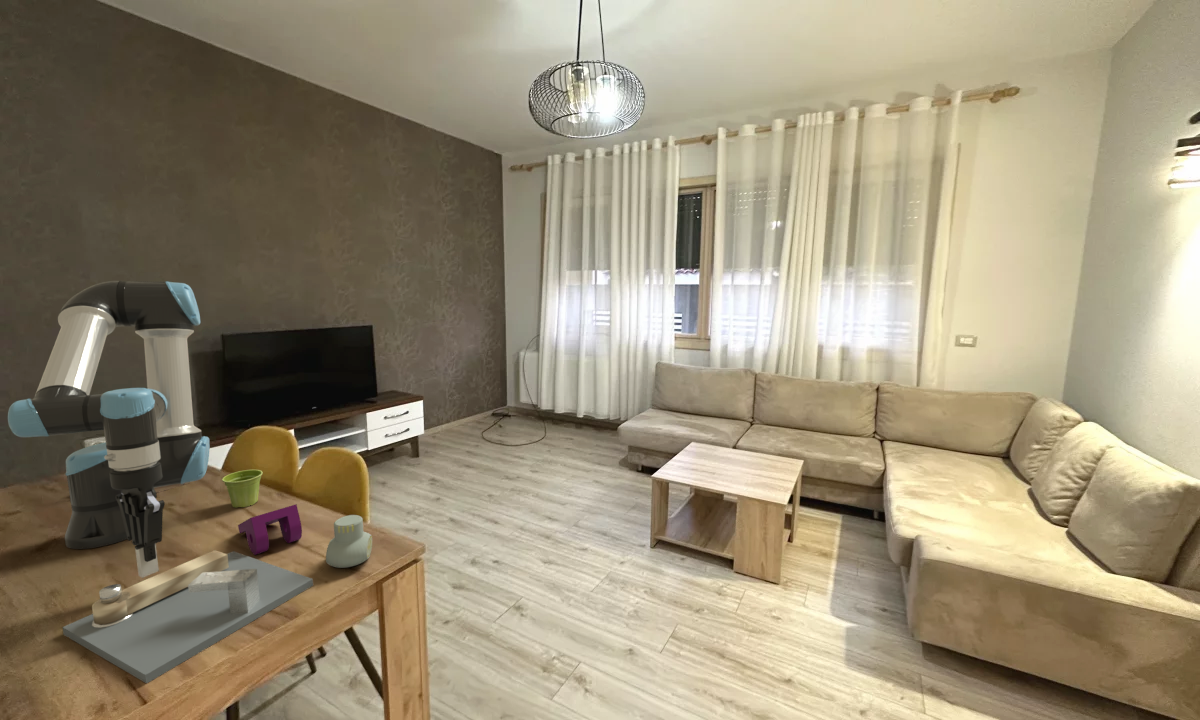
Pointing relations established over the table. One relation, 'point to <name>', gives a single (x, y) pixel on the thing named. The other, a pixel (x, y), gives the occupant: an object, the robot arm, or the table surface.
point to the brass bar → (158, 587)
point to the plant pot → (243, 487)
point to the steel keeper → (231, 587)
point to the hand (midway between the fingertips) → (148, 573)
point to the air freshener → (349, 543)
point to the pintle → (108, 596)
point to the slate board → (184, 622)
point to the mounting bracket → (258, 524)
